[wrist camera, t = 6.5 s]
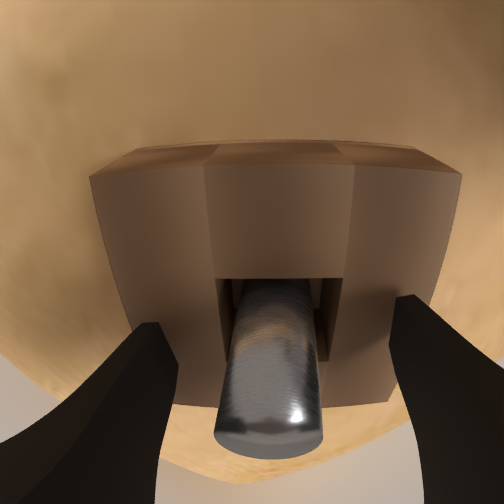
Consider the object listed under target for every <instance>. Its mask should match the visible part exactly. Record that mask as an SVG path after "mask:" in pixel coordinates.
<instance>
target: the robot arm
mask: <svg viewBox="0 0 504 504" xmlns="http://www.w3.org/2000/svg"><path fill="white" fill-rule="evenodd" d="M388 346H389V350H390V354H391V359H392V363H393V367H394V372H395V375H396V378H397V381H398V384H399V386H400V389H401V392H402V395H403V398H404V401H405V404H406V407H407V410H408V413H409V416H410V419H411V422H412V425H413V428H414V432H415V436H416V440H417V444H418V450H419V456H420V462H421V470H422V479H423V488H424V504H504V369H503V368H502V367H500V366H499V365H497V364H496V363H495V362H493V361H492V360H491V359H489V358H488V357H487V356H486V355H484V354H483V353H482V352H481V351H479V350H478V349H477V348H476V347H474V346H473V345H472V344H471V343H470V342H468V341H467V340H466V339H465V338H464V337H462V336H461V335H460V334H459V333H458V332H457V331H456V330H454V329H453V328H452V327H451V326H450V325H449V324H448V323H447V322H445V321H444V320H443V319H442V318H441V317H440V316H439V315H438V314H436V313H435V312H434V311H433V310H432V309H431V308H430V307H429V306H427V305H426V304H425V303H424V302H423V301H422V300H421V299H419V298H418V297H417V296H416V295H415V294H411V295H406V296H400V297H396V299H395V307H394V314H393V320H392V326H391V332H390V338H389V344H388ZM178 368H179V364H178V362H177V360H176V358H175V356H174V354H173V352H172V350H171V347H170V345H169V343H168V341H167V339H166V337H165V335H164V333H163V330H162V328H161V326H160V324H159V322H145V323H141V324H140V325H139V326H138V327H137V328H136V329H135V330H134V331H133V332H132V333H131V334H130V335H129V336H128V337H127V338H126V339H125V340H124V341H123V342H122V343H121V344H120V345H119V347H118V348H117V349H116V350H115V351H114V352H113V353H112V354H111V355H110V356H109V357H108V358H107V359H106V360H105V361H104V362H103V364H102V365H101V366H100V367H99V368H98V369H97V370H96V371H95V372H94V373H93V374H92V375H91V376H90V377H89V378H88V379H87V380H86V381H85V382H84V383H83V384H82V385H81V386H80V387H79V388H78V389H77V390H75V391H74V392H73V393H72V394H71V395H70V396H69V397H68V398H67V399H65V400H64V401H63V402H62V403H61V404H59V405H58V406H57V407H56V408H55V409H53V410H52V411H51V412H49V413H48V414H47V415H45V416H44V417H43V418H41V419H40V420H38V421H37V422H35V423H34V424H32V425H31V426H30V427H28V428H27V429H25V430H23V431H22V432H20V433H19V434H17V435H15V436H14V437H11V438H9V439H8V440H6V441H4V442H2V443H0V504H154V503H155V487H156V477H157V468H158V460H159V455H160V450H161V445H162V442H163V438H164V434H165V430H166V426H167V422H168V419H169V415H170V411H171V407H172V403H173V400H174V396H175V391H176V384H177V376H178Z"/></svg>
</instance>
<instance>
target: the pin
mask: <svg viewBox="0 0 504 504" xmlns="http://www.w3.org/2000/svg"><path fill="white" fill-rule="evenodd" d="M214 437H215V439H216V441H217V442H218V443H219V444H220V445H221V446H223V447H224V448H226V449H228V450H230V451H232V452H234V453H236V454H239V455H243V456H247V457H251V458H258V459H286V458H292V457H297V456H301V455H304V454H306V453H308V452H311V451H312V450H314V449H315V448H317V447H318V446H319V445H320V444H321V442H322V440H323V427H322V410H321V394H320V381H319V368H318V356H317V344H316V334H315V324H314V314H313V304H312V295H311V287H310V278H288V279H244V280H243V285H242V291H241V296H240V301H239V306H238V311H237V316H236V321H235V326H234V331H233V336H232V341H231V346H230V352H229V357H228V362H227V367H226V372H225V377H224V382H223V387H222V392H221V398H220V403H219V408H218V413H217V418H216V423H215V428H214Z"/></svg>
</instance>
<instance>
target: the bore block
mask: <svg viewBox="0 0 504 504" xmlns="http://www.w3.org/2000/svg"><path fill="white" fill-rule="evenodd" d="M89 179H90V184H91V189H92V194H93V198H94V203H95V207H96V212H97V216H98V220H99V224H100V228H101V232H102V236H103V240H104V244H105V248H106V251H107V255H108V258H109V262H110V265H111V269H112V272H113V275H114V279H115V282H116V285H117V288H118V291H119V294H120V297H121V300H122V303H123V306H124V309H125V312H126V315H127V318H128V321H129V324H130V326H131V329H132V332H133V331H134V330H135V329H136V328H137V327H138V326H139V325H140V324H141V323H145V322H159V324H160V326H161V328H162V330H163V333H164V335H165V337H166V339H167V341H168V343H169V345H170V347H171V350H172V352H173V354H174V356H175V358H176V360H177V362H178V364H179V368H178V376H177V384H176V391H175V396H174V400H173V403H172V404H179V405H189V406H200V407H214V408H219V403H220V398H221V392H222V387H223V382H224V377H225V372H226V367H227V362H228V357H229V352H230V346H231V341H232V336H233V331H234V326H235V321H236V316H237V311H238V306H239V301H240V296H241V291H242V285H243V280H244V279H288V278H310V287H311V295H312V304H313V314H314V324H315V334H316V344H317V356H318V368H319V381H320V394H321V408H329V407H342V406H353V405H363V404H372V403H380V402H388V400H389V398H390V396H391V394H392V392H393V390H394V388H395V386H396V384H397V382H398V381H397V378H396V375H395V372H394V367H393V363H392V359H391V354H390V350H389V346H388V344H389V338H390V332H391V326H392V320H393V314H394V307H395V299H396V297H400V296H406V295H411V294H415V295H416V296H417V297H418V298H419V299H421V300H422V301H423V302H424V303H425V304H426V305H427V306H429V304H430V301H431V298H432V295H433V292H434V289H435V286H436V283H437V280H438V277H439V273H440V270H441V267H442V263H443V260H444V256H445V253H446V249H447V245H448V241H449V237H450V233H451V229H452V225H453V220H454V216H455V211H456V206H457V201H458V196H459V190H460V185H461V179H462V174H461V173H459V172H458V171H456V170H454V169H452V168H451V167H449V166H447V165H445V164H444V163H442V162H440V161H438V160H436V159H435V158H433V157H431V156H429V155H427V154H425V153H423V152H421V151H419V150H417V149H415V148H413V147H410V146H400V145H390V144H378V143H365V142H348V141H326V140H243V141H220V142H204V143H190V144H178V145H167V146H158V147H149V148H140V149H136V150H134V151H132V152H130V153H129V154H127V155H125V156H123V157H121V158H120V159H118V160H116V161H114V162H113V163H111V164H109V165H108V166H106V167H104V168H102V169H101V170H99V171H97V172H96V173H94V174H93V175H91V176H89Z"/></svg>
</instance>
